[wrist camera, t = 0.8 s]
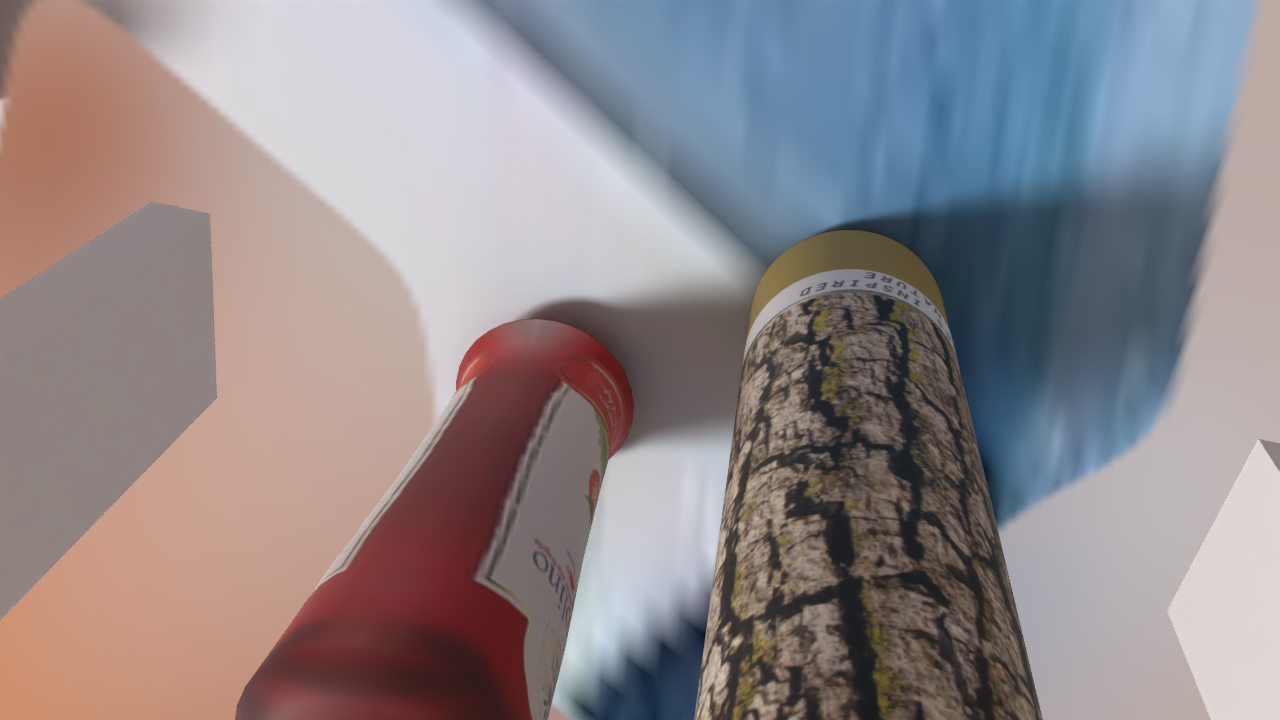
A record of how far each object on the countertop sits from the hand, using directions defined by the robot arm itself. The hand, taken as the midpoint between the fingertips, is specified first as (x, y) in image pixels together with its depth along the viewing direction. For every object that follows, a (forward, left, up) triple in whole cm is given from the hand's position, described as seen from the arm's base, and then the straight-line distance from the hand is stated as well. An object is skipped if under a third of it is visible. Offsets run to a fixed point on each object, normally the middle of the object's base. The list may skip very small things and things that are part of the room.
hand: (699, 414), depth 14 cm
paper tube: (+9, +5, -25) cm, 27 cm away
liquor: (+15, -5, -25) cm, 29 cm away
